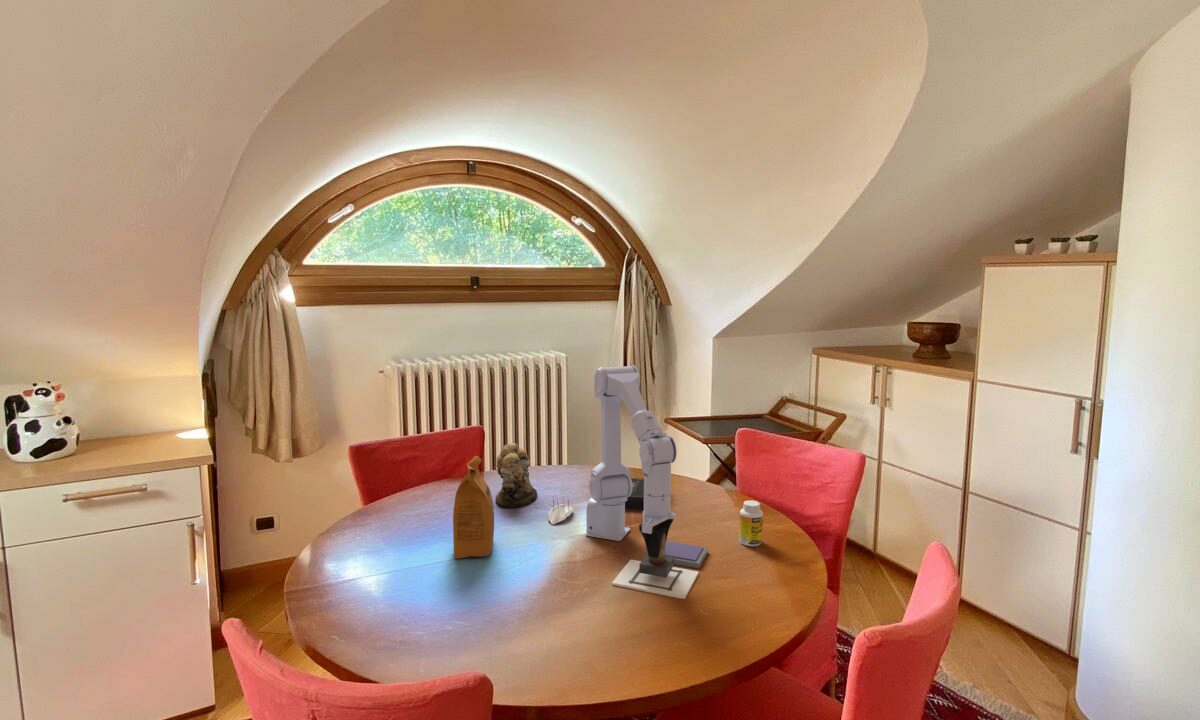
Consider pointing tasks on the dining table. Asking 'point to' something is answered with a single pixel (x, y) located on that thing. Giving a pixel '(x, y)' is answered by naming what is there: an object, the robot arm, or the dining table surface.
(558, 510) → the pincushion
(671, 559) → the stamp
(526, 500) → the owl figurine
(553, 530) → the dining table surface
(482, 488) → the coffee package
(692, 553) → the ink pad
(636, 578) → the marked board
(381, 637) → the dining table surface
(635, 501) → the portable cd player
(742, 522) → the supplement bottle
